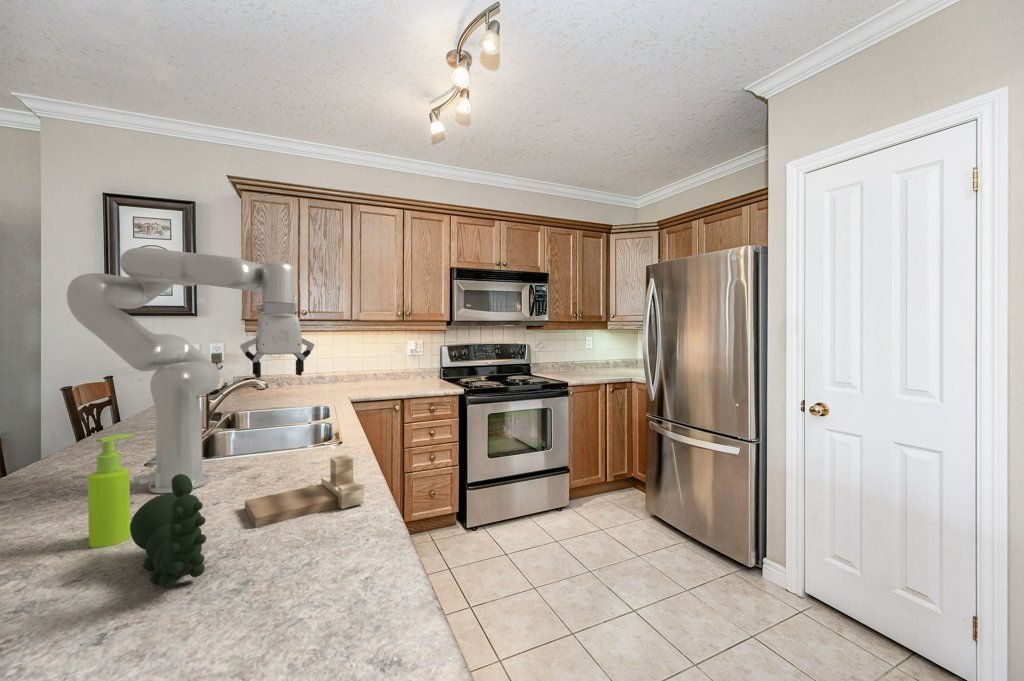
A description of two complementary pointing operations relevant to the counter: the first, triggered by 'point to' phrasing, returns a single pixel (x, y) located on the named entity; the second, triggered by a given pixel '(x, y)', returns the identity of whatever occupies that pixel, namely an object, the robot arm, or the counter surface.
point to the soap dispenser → (109, 497)
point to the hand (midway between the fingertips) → (278, 376)
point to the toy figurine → (171, 533)
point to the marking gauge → (344, 482)
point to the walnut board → (290, 505)
